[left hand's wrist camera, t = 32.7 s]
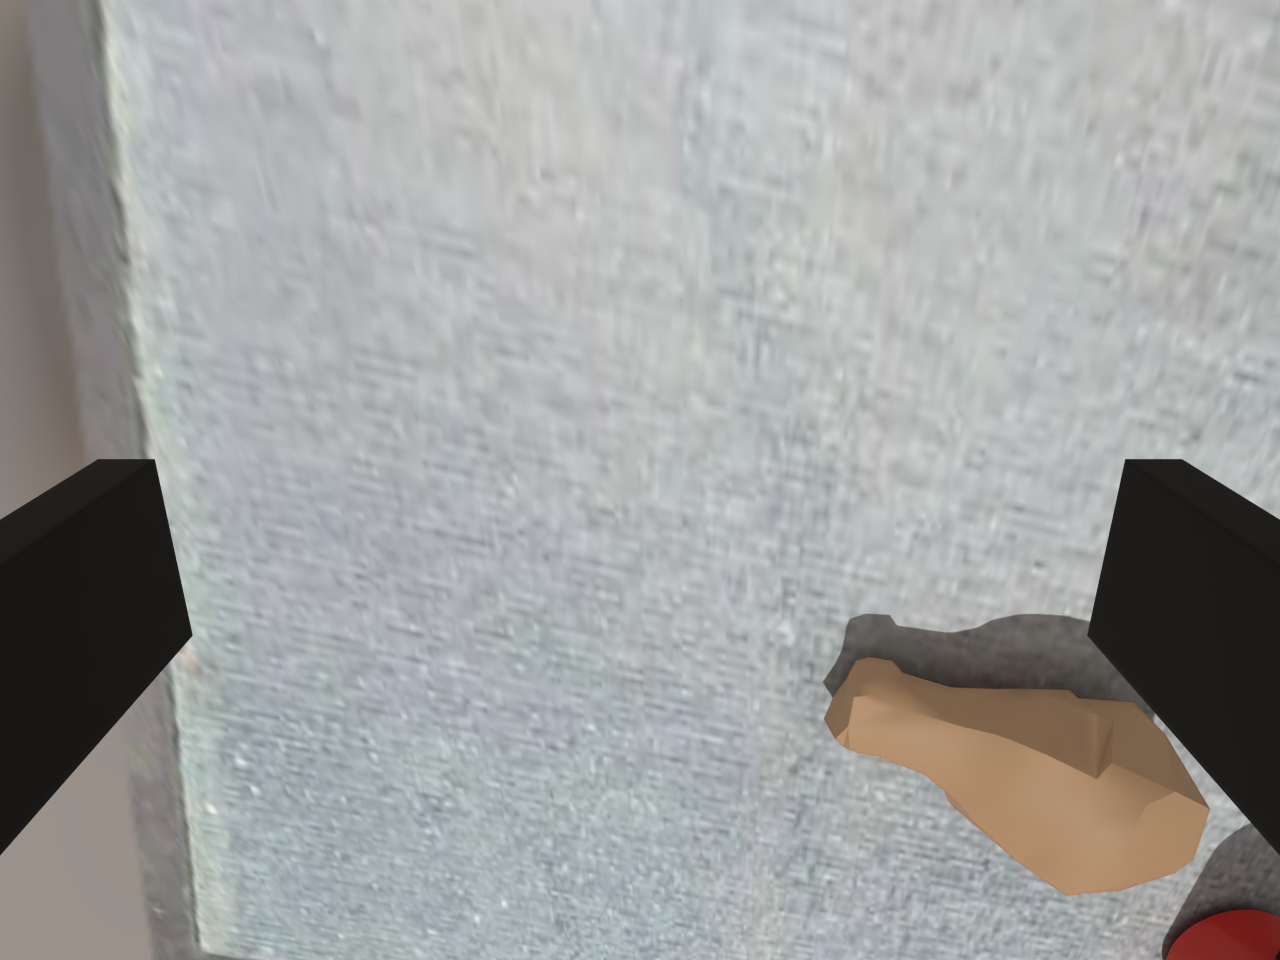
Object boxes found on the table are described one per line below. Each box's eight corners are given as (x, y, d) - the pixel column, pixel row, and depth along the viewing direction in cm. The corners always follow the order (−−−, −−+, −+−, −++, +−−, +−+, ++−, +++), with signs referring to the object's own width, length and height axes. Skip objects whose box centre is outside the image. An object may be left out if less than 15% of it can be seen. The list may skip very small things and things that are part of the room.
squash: (1102, 824, 55) (1147, 961, 48) (798, 715, 55) (794, 834, 48) (1208, 705, 50) (1279, 838, 42) (871, 584, 50) (880, 695, 42)
